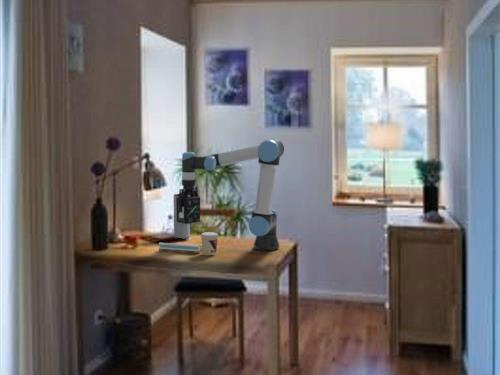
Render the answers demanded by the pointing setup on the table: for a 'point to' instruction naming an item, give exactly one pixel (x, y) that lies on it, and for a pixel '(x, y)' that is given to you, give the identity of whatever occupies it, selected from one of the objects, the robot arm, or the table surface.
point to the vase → (180, 224)
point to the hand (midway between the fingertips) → (188, 216)
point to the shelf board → (182, 250)
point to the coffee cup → (209, 243)
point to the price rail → (179, 247)
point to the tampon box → (190, 210)
